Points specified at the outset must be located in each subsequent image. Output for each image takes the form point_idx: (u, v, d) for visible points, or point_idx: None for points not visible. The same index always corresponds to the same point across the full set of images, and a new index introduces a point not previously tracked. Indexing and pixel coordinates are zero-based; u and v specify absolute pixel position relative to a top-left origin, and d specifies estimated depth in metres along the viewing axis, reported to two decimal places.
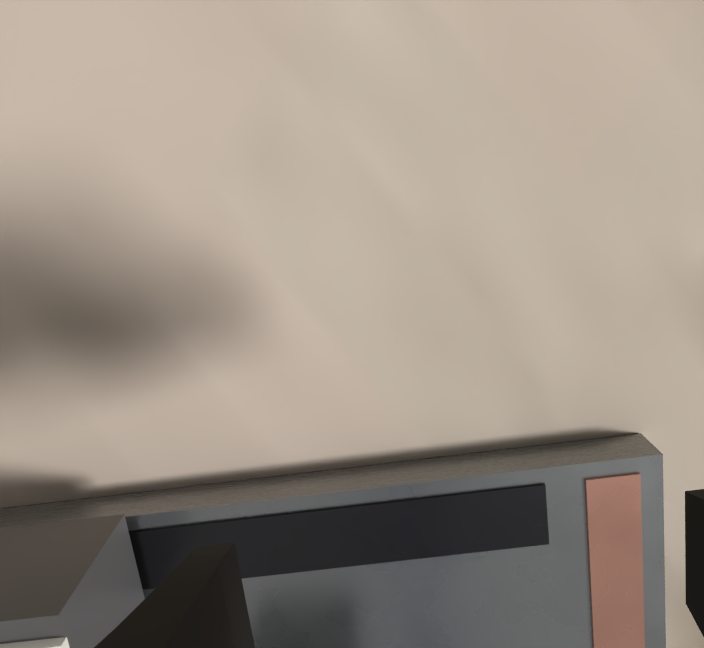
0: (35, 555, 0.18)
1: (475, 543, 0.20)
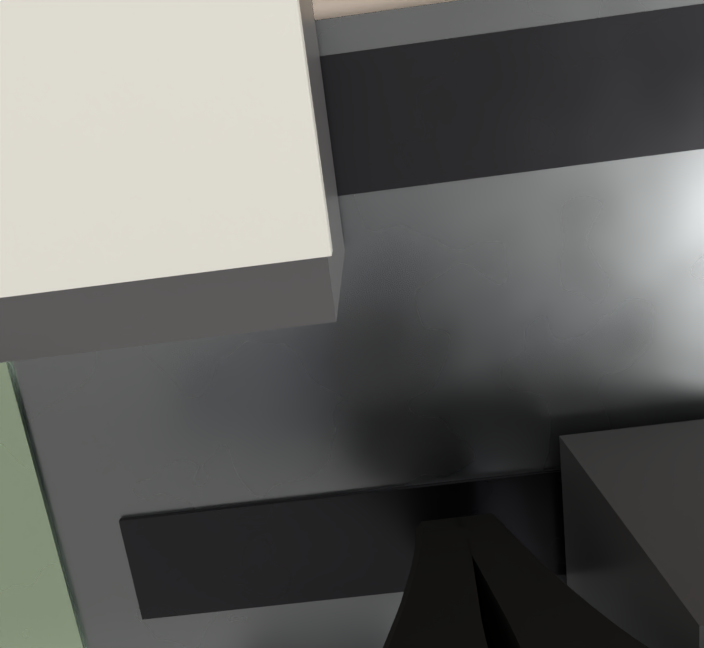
0: None
1: None
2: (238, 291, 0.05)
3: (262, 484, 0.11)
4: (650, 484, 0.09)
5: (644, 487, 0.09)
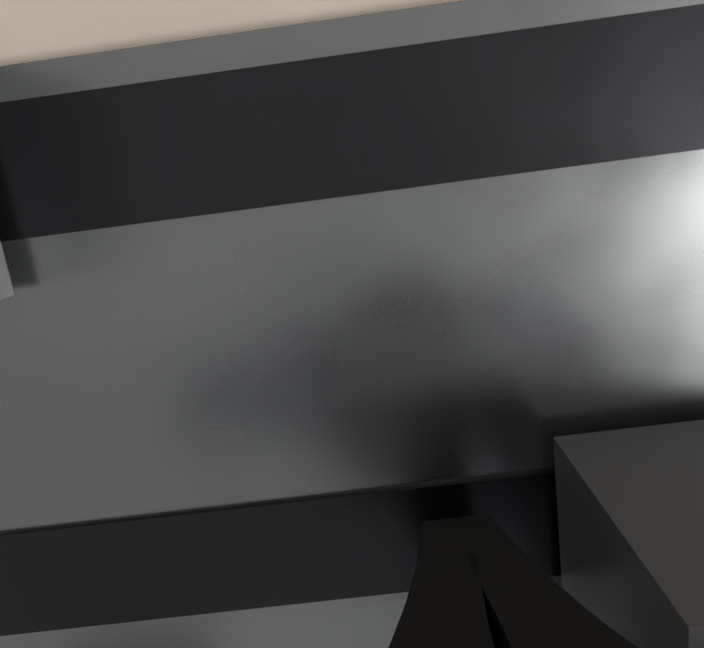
0: None
1: (678, 133, 0.10)
2: None
3: None
4: (643, 485, 0.09)
5: (636, 488, 0.09)
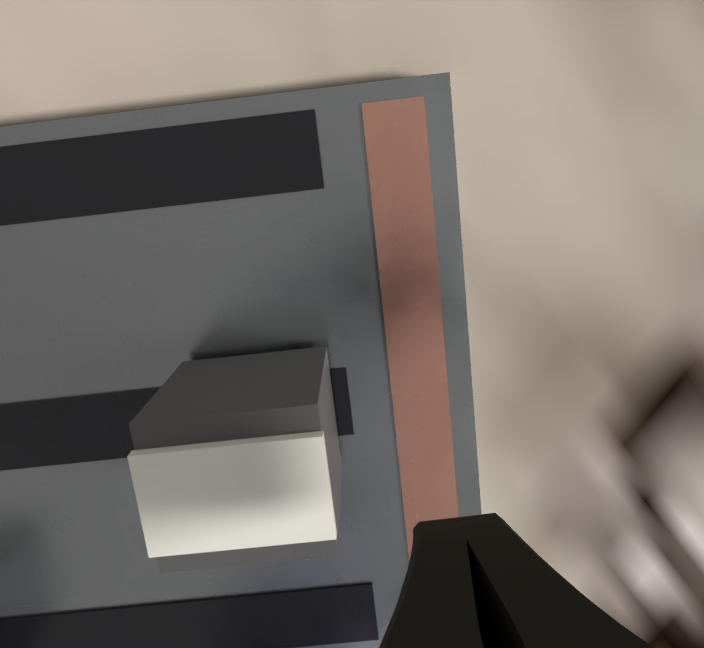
0: None
1: (239, 187, 0.17)
2: None
3: None
4: (191, 379, 0.16)
5: (186, 381, 0.16)
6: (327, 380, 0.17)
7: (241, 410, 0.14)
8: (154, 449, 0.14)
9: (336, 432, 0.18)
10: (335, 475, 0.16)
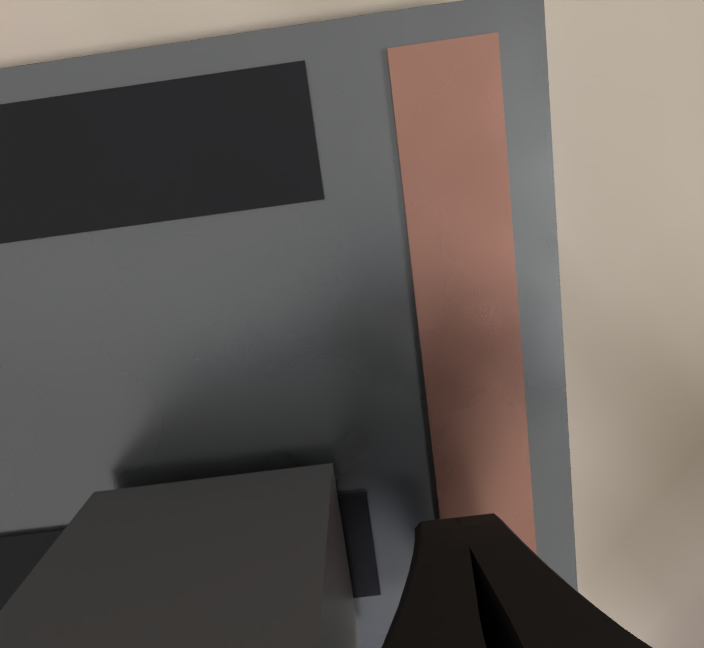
0: None
1: (179, 201, 0.10)
2: None
3: None
4: (91, 549, 0.09)
5: (82, 552, 0.09)
6: (335, 534, 0.10)
7: None
8: None
9: (352, 603, 0.11)
10: None
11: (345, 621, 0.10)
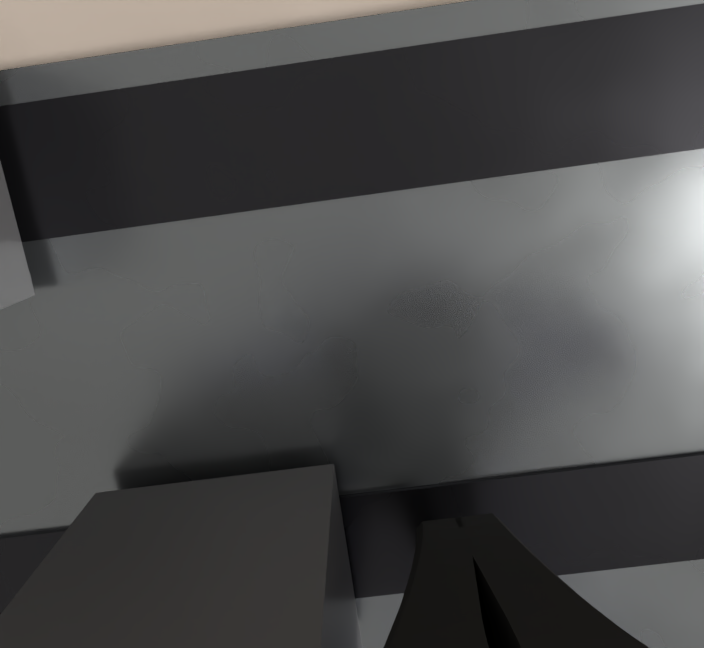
0: None
1: (698, 130, 0.10)
2: None
3: None
4: (94, 550, 0.09)
5: (84, 553, 0.09)
6: (337, 535, 0.10)
7: None
8: None
9: (353, 604, 0.11)
10: None
11: (347, 621, 0.10)
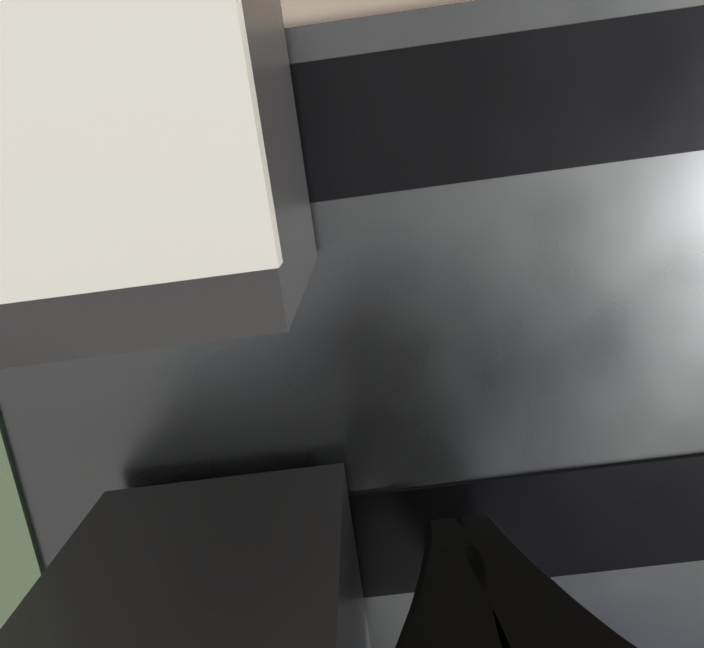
0: None
1: None
2: (190, 302, 0.05)
3: None
4: (104, 548, 0.09)
5: (95, 552, 0.09)
6: (347, 534, 0.10)
7: None
8: None
9: (362, 603, 0.11)
10: None
11: (357, 621, 0.10)
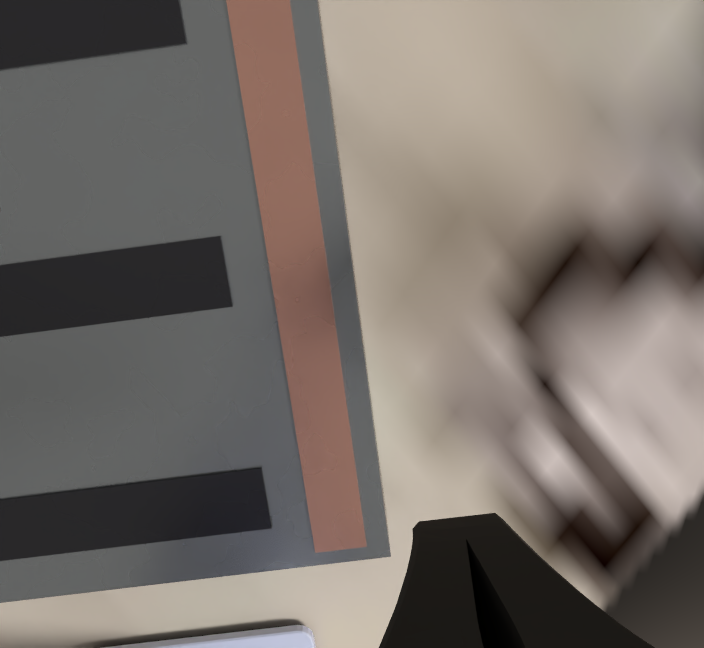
0: None
1: (100, 44, 0.17)
2: None
3: None
4: None
5: None
6: None
7: None
8: None
9: None
10: None
11: None
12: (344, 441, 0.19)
